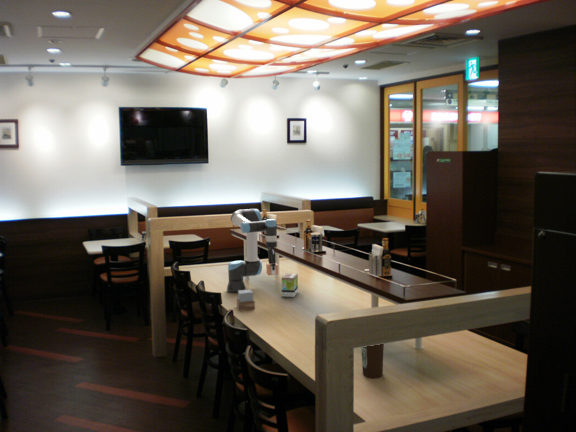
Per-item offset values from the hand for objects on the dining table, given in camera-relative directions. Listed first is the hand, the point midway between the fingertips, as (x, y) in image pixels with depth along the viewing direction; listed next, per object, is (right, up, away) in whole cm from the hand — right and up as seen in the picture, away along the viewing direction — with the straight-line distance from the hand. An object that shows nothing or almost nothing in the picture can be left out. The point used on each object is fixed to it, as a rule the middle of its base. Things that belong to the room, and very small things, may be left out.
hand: (272, 273), depth 364 cm
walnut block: (-19, -24, -2) cm, 31 cm away
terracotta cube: (0, 0, 0) cm, 0 cm away
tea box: (+13, -20, +31) cm, 39 cm away
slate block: (-19, -18, -3) cm, 26 cm away
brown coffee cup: (+51, -35, -119) cm, 134 cm away
